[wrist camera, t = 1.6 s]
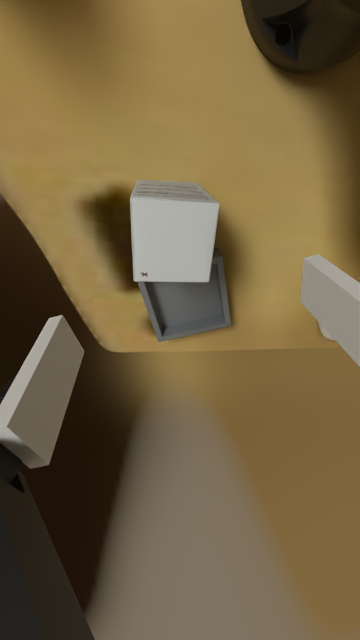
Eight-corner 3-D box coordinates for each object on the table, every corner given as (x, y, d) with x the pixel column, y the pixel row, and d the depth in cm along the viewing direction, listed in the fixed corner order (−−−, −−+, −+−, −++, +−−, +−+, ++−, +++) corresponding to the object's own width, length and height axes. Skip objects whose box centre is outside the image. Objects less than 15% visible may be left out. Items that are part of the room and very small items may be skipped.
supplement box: (192, 242, 35) (209, 285, 25) (137, 239, 34) (131, 283, 24) (198, 181, 31) (223, 202, 20) (135, 176, 30) (127, 196, 19)
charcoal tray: (217, 248, 36) (222, 256, 33) (226, 315, 42) (230, 325, 40) (136, 267, 36) (135, 276, 34) (158, 330, 43) (158, 342, 40)
